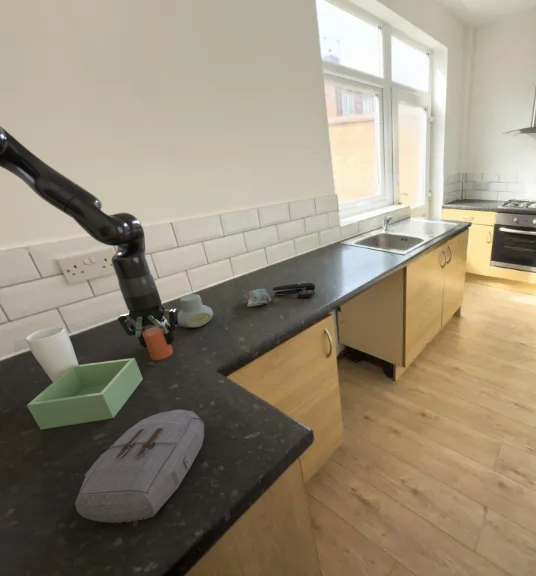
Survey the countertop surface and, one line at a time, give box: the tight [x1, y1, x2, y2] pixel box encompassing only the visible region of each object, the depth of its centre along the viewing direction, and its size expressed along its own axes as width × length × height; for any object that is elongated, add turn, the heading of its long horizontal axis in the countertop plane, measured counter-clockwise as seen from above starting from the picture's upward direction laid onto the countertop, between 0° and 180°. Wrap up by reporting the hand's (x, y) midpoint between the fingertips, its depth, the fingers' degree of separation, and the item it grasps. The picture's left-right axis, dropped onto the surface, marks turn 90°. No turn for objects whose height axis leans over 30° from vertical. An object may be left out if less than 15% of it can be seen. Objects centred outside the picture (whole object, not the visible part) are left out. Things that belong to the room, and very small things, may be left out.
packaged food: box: [243, 288, 272, 308], centre depth 123 cm, size 9×12×5 cm
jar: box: [142, 325, 174, 361], centre depth 91 cm, size 6×6×8 cm
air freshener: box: [177, 293, 214, 329], centre depth 107 cm, size 11×8×10 cm
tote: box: [26, 357, 144, 430], centre depth 73 cm, size 14×14×7 cm
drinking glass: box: [25, 325, 80, 383], centre depth 78 cm, size 7×7×15 cm
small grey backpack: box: [74, 409, 206, 524], centre depth 56 cm, size 15×8×20 cm
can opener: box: [272, 281, 316, 298], centre depth 128 cm, size 18×7×6 cm, turn 84°
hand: (158, 344), depth 91 cm, fingers closed on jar, 5 cm apart
